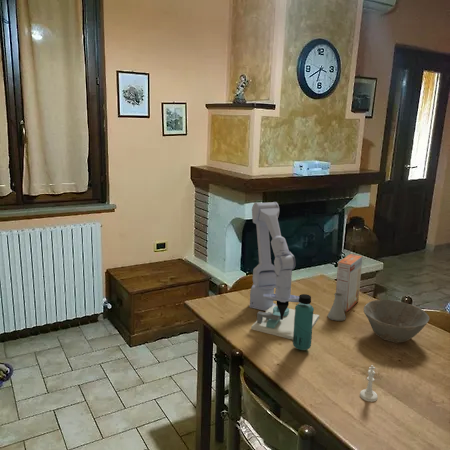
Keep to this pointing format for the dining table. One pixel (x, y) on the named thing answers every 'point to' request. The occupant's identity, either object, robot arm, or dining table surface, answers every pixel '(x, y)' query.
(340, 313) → the flask
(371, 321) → the ceramic bowl
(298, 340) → the beverage bottle
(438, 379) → the dining table surface
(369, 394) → the chess piece
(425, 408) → the dining table surface
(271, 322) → the link
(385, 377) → the dining table surface
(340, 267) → the cracker box
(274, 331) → the board
